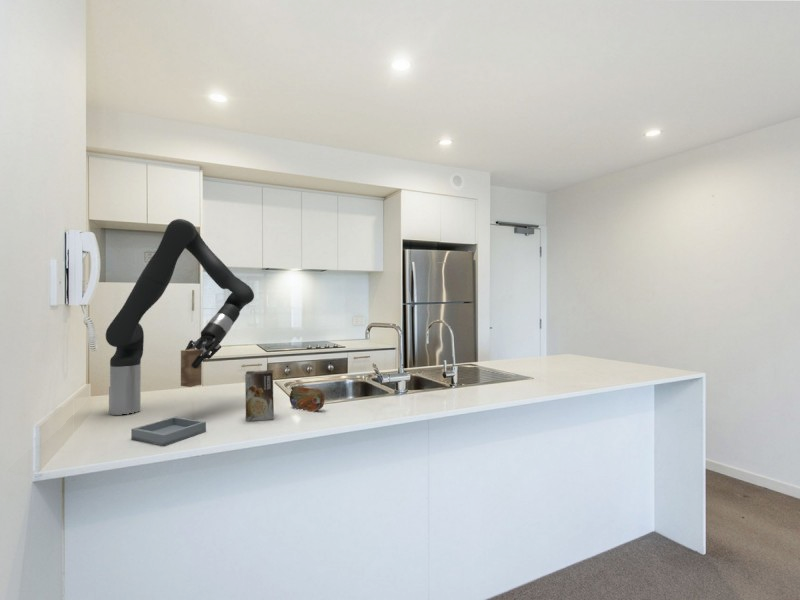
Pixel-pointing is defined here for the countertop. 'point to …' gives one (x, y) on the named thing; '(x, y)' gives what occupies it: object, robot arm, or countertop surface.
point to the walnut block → (190, 368)
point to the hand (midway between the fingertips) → (188, 366)
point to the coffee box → (259, 395)
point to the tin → (307, 398)
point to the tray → (168, 431)
